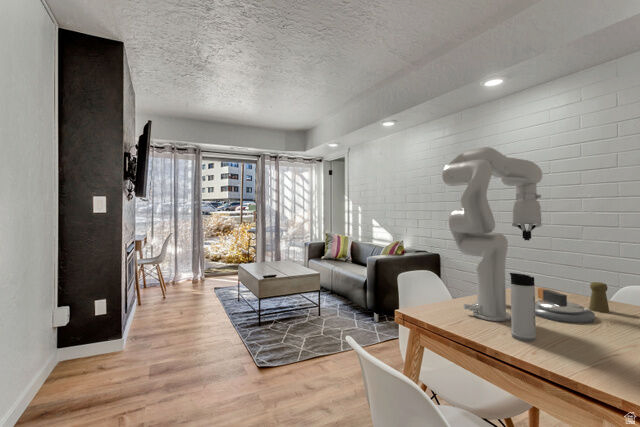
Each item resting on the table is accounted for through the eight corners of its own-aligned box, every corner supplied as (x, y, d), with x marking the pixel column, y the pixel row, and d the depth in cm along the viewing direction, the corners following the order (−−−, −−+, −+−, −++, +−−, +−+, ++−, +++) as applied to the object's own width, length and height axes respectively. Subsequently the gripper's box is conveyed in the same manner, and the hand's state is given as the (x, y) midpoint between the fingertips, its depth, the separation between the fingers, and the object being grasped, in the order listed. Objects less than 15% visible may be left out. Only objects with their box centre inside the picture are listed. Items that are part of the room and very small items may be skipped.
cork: (613, 313, 120) (612, 284, 120) (595, 312, 121) (594, 283, 121) (602, 308, 126) (602, 281, 126) (585, 307, 127) (585, 280, 127)
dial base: (544, 321, 111) (544, 314, 111) (519, 306, 131) (519, 299, 131) (609, 324, 107) (609, 317, 107) (573, 308, 127) (573, 301, 127)
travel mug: (506, 334, 100) (505, 271, 100) (527, 334, 100) (526, 271, 100) (518, 342, 94) (516, 275, 94) (540, 342, 93) (539, 275, 94)
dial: (594, 313, 112) (593, 298, 112) (555, 314, 112) (555, 299, 112) (557, 301, 129) (557, 287, 129) (524, 301, 129) (523, 288, 129)
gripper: (548, 197, 134) (549, 240, 134) (508, 199, 144) (508, 239, 143) (546, 196, 128) (547, 241, 128) (504, 198, 138) (505, 240, 138)
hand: (527, 240), depth 136 cm, fingers closed
